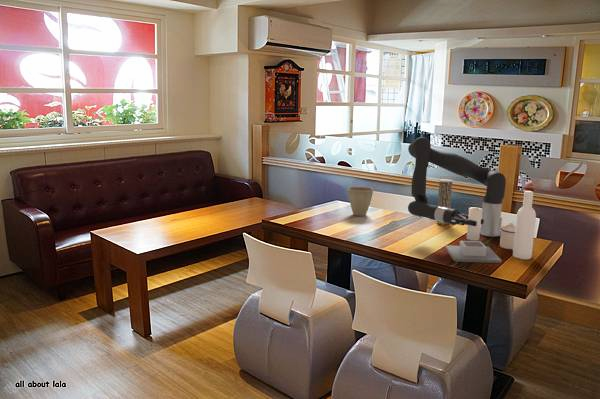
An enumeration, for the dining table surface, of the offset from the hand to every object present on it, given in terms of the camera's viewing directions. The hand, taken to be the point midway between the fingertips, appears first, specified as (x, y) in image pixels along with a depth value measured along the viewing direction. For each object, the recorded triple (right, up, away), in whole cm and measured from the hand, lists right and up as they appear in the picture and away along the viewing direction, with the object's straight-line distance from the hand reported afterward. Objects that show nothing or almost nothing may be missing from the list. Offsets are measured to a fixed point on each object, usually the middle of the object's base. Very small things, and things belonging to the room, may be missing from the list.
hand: (479, 222), depth 221 cm
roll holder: (-2, -15, +5) cm, 16 cm away
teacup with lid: (+22, -12, +19) cm, 31 cm away
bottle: (+20, -16, +3) cm, 26 cm away
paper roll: (-2, -7, +3) cm, 8 cm away
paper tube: (+1, -3, +60) cm, 60 cm away
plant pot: (-44, +1, +79) cm, 90 cm away
